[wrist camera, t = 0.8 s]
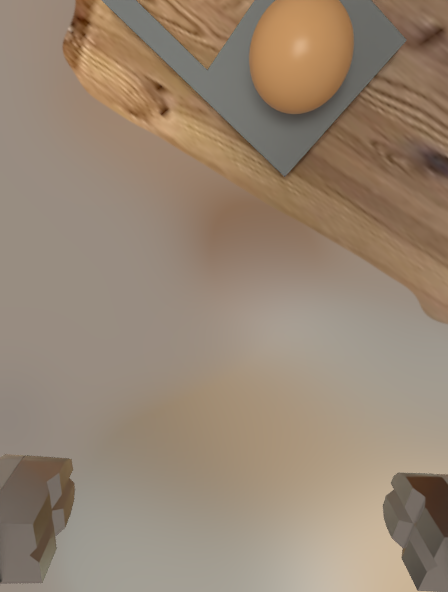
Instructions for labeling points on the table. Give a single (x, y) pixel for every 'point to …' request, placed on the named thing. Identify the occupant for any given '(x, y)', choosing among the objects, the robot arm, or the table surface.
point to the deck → (239, 86)
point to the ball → (301, 53)
